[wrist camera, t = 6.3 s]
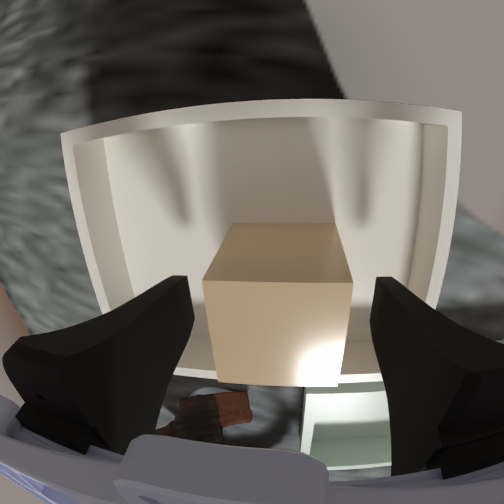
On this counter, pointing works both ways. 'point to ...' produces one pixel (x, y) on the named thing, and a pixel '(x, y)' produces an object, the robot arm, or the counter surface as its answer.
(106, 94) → the counter surface
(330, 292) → the sandstone block
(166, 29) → the counter surface
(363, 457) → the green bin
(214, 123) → the cream bin
